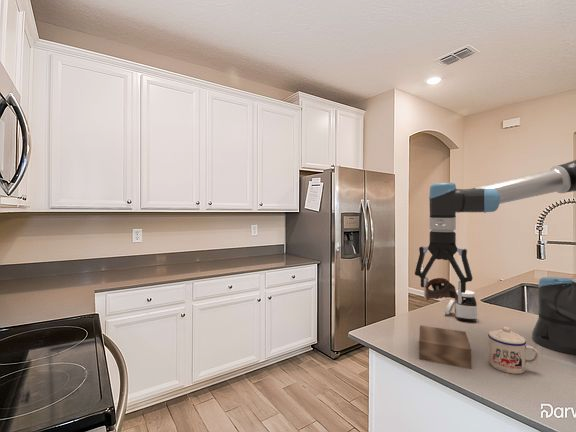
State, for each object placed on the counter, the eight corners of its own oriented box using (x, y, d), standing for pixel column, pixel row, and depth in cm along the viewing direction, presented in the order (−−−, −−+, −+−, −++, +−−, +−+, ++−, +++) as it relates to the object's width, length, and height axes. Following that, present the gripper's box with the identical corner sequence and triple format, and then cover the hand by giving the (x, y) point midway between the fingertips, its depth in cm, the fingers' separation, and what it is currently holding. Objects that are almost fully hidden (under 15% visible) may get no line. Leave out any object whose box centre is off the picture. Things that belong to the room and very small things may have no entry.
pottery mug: (467, 306, 91) (458, 285, 89) (437, 318, 93) (428, 297, 91) (448, 287, 103) (440, 267, 101) (422, 297, 104) (413, 279, 102)
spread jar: (479, 324, 120) (479, 295, 120) (448, 321, 124) (448, 293, 124) (470, 314, 132) (471, 288, 132) (442, 311, 135) (442, 286, 135)
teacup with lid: (488, 369, 86) (489, 329, 86) (486, 356, 94) (487, 319, 94) (542, 381, 80) (542, 338, 80) (535, 366, 88) (535, 327, 87)
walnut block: (465, 349, 99) (465, 331, 99) (471, 369, 87) (471, 349, 86) (419, 341, 105) (419, 325, 105) (419, 360, 92) (419, 341, 92)
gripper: (404, 230, 99) (404, 297, 99) (481, 232, 86) (481, 309, 87) (409, 229, 105) (410, 292, 105) (483, 231, 92) (483, 302, 93)
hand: (442, 299), depth 96 cm, fingers closed on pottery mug, 9 cm apart
